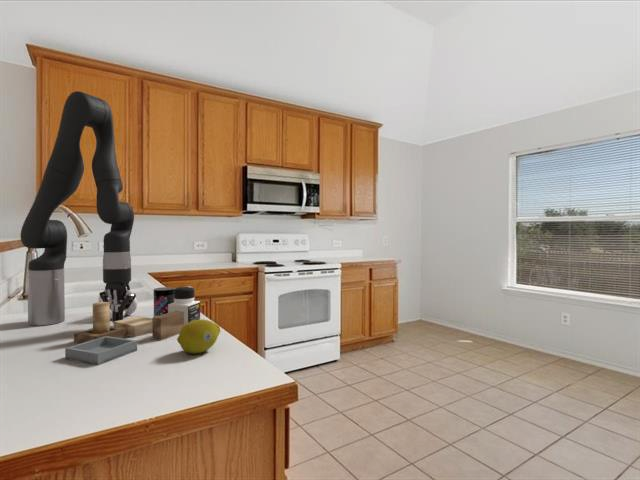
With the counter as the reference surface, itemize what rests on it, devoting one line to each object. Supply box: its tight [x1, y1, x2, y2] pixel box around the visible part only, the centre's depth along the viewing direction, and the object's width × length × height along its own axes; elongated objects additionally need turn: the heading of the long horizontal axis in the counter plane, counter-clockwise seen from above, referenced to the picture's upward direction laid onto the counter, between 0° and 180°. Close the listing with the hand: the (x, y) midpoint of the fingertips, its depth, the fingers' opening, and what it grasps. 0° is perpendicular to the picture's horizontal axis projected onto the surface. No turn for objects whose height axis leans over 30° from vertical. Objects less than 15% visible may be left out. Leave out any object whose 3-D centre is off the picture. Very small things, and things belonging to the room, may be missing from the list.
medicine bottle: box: [168, 286, 201, 325], centre depth 116 cm, size 7×7×12 cm
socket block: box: [73, 325, 129, 344], centre depth 100 cm, size 9×9×2 cm
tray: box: [64, 336, 138, 366], centre depth 88 cm, size 11×11×2 cm
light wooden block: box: [113, 315, 153, 338], centre depth 108 cm, size 10×8×4 cm
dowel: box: [92, 301, 111, 334], centre depth 100 cm, size 4×4×10 cm
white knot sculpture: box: [97, 295, 138, 320], centre depth 126 cm, size 11×12×9 cm
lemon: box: [176, 319, 221, 355], centre depth 90 cm, size 11×8×8 cm
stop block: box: [152, 311, 184, 341], centre depth 104 cm, size 3×9×6 cm, turn 159°
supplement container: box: [152, 286, 176, 317], centre depth 123 cm, size 7×7×10 cm
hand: (117, 323), depth 111 cm, fingers closed
